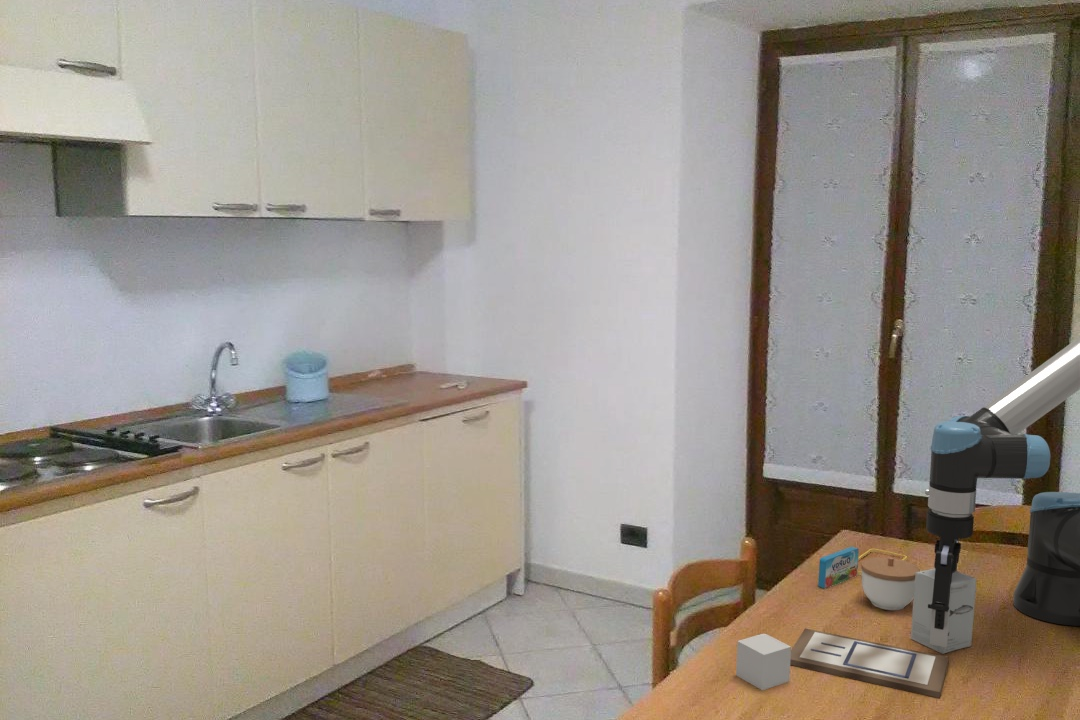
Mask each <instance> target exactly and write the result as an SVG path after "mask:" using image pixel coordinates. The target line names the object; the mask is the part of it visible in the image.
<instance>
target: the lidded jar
mask: <svg viewBox="0 0 1080 720" xmlns="http://www.w3.org/2000/svg"><path fill="white" fill-rule="evenodd" d="M860 566H861V567H860V569H861V571H862V573H861V576H860V577H861V579H860V580H861V585H862V590H863V592H864V594H865V596H866V597H867V599H868V600H869V601H870V603H871V604H872V605H873V607H875V608H878V609H882V610H885V611H901V610H903V609H905V607H906V606H908V605H909V604H910V603H911V602H912V601H913V600H914V588H915V574H916V572H920V571H921V569H920V567H918V566H917V565H916V564H913V563H912V562H909V561H904V560H902V559H900V558H894V557H893V556H892V557H891V556H890V557H885V556H884V557H883V556H881V557H880V556H879V557H878V556H877V557H876V556H874V557H869V558H866V559H863V560H862V561H861V565H860Z"/></svg>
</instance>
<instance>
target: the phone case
mask: <svg viewBox="0 0 1080 720" xmlns="http://www.w3.org/2000/svg"><path fill="white" fill-rule="evenodd" d="M870 552H871V553H875V552H877V553H876V554H878V553H879V552H880V553H884V554H885V556H886V555H887V554H889V555H892V557H895V556H898V557H902V559H901V560H904V561H907V560H908V556H907V555H905V554H900V553H897V552H896V553H895V552H894V551H893V552H892V551H888V550H883V549H879V548H878V549H877V548H869V549H868V550H867V551H865V552H864V553H862V554H861V555H858V560H859V561H861V560H862V559H864V558H865V557H867V556H868V555H870V554H871V553H870ZM867 554H868V555H867ZM866 555H867V556H866ZM864 556H865V557H864ZM863 557H864V558H863ZM861 558H862V559H861ZM860 559H861V560H860ZM907 562H908V561H907ZM861 573H862V570H857V576H859V575H861Z"/></svg>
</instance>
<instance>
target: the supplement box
mask: <svg viewBox="0 0 1080 720" xmlns="http://www.w3.org/2000/svg"><path fill="white" fill-rule="evenodd" d="M934 578H935V567H934V568H929V569H925V570H920V572H916V574H915V588H914V598H913V600H912V601H913V603H912V614H911V615H912V617H911V629H910V640H913V641H915V642H917V643H919V644H921V645H923V646H926V648H927V647H928V648H929V649H931V650H932V651H936V652H937V653H939V654H942V655H944V654H946V653H950V652H954V651H957V650H961V649H964V648H970V647H971V646H972V641H973V640H972V639H973V629H974V628H973V627H974V619H975V618H974V616H975V605H976V603H975V602H976V591H977V580H978V579H977V578H976V577H973V576H971V575H969V574H966V573H964V572H963V573H962V572H960V571H958V570H957V571H955V572H954V573H952V581H951V587H950V599H949V610H950V611H949V624H948V637H947V647H942V646H937V645H932V644H930V630H931V617H932V609H930V608H928V604H932V599H933V588H934ZM937 603H940V602H937ZM942 604H944V603H942Z"/></svg>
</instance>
